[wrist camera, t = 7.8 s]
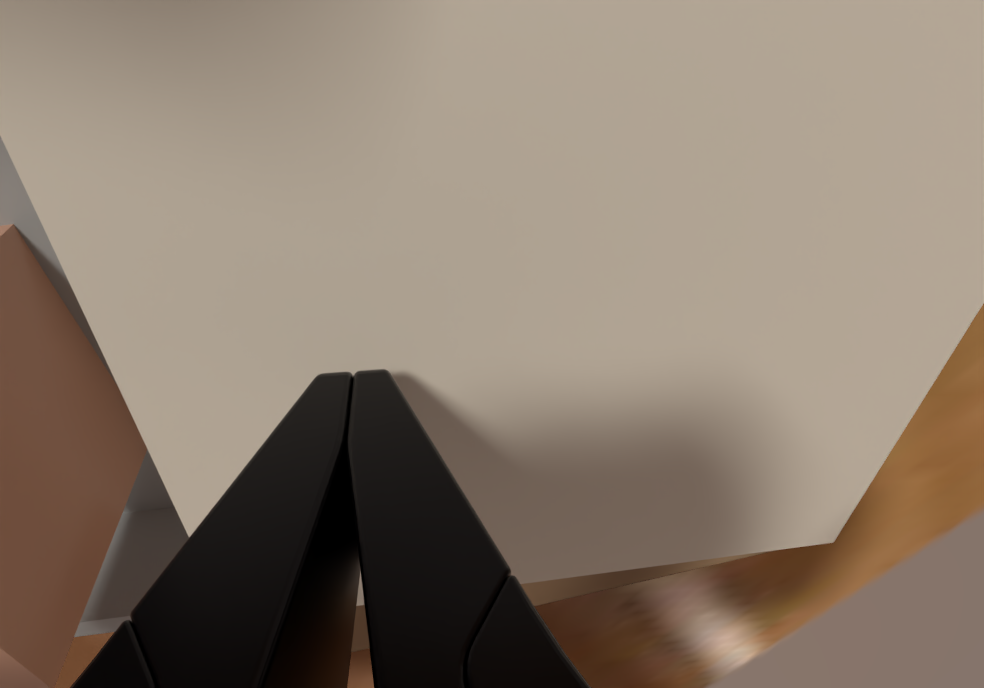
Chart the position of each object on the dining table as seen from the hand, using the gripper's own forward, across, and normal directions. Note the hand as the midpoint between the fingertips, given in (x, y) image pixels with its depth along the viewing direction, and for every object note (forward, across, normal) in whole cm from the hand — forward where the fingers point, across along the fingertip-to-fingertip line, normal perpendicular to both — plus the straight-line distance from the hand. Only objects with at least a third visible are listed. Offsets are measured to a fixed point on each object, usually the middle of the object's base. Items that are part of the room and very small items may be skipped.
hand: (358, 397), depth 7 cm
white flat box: (+4, -3, 0) cm, 5 cm away
